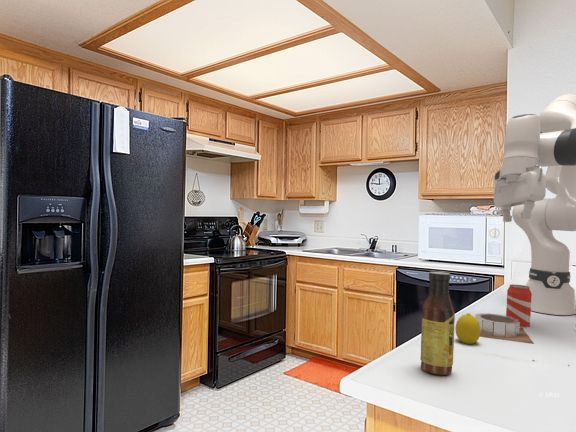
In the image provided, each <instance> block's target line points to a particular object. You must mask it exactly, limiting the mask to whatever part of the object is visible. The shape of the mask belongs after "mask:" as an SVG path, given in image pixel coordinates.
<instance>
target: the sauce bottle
mask: <svg viewBox="0 0 576 432" xmlns="http://www.w3.org/2000/svg"><path fill="white" fill-rule="evenodd" d="M428 280H429V289H428V293H429V295H428V296H427V297H426V299H425V300H424V302H423V304H422V317H421V335H420V336H421V337H420V339H421V340H420V361H421V362H420V368H421V369H422V371H424V372H425V373H429V374H432V375H437V376H438V375H440V376H445V375H450V374H451V373H452V371H453V364H454V347H455V345H454V343H455V320H456V317H455V314H456V313H455V312H456V311H455V309H454V306H453V303H452V300H451V297H450V291H449V290H450V282H451V273H449V272H443V271H429V273H428Z"/></svg>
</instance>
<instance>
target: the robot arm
mask: <svg viewBox="0 0 576 432" xmlns="http://www.w3.org/2000/svg"><path fill="white" fill-rule="evenodd" d="M503 141H504V142H503V148H504V156H503V158H502V165H501V166H500V167H499V169H498V170H497V171H496V172H495V174H494V176H493V181H494V182H495V184H494V187H493V188H494V189H493V205H494V206H495V208H499V209H500V208H501V210H500V211H501V213H502V221H503V223H512V221H514V223H515V224H516V225H517V227H519V228H520V229H522V231H523V232H524V233H525V235H526V236H527V239H528V241H529V244H530V250H531V251H530V254H531V262H530V263H531V264H530V267H529V271H528V278H529V279H528V280H527V282H526V283H525V284H524V286H528V287H530V288H529V289H530V291H531V293H532V297H531V311H533V312H537V313H540V314H541V313H542V314H545V315H546V314H548V315H554V316H571V315H576V302H575V301H576V298H575V297H576V296H575V295H576V294H575V288H574V287H572V285H570V282H571V277H572V276H571V272H570V257H571V255H570V253H571V251H570V250H569V248H568V246H567V245H566V244H564V243H563V242H561V241H559V240H557V239H556V238H555V236H554V234H553V233H554V232H553V231H562V232H563V231H564V232H576V94H573V93H565V94H561V95H560V96H557V97H555V98H554V99H553V100H551V101H550V102H549V103H548V104H547V105H545V107H544V108H543V109H542V110H541V112H540V114H539V115H537V114H533V113H525V114H518V115H514V116H512V117H510V118H509V119H508V121H507V124H506V128H505V133H504V139H503ZM543 167H547V170H546V171H545V172H546V173H545V174H544V172H543ZM546 190H548V191H549V192H550V193H552V194H554V195H556V196H555V197H554V198H545V197H546V194H547V193H546V192H547V191H546ZM511 210H512V211H511ZM511 212H512V215H511Z"/></svg>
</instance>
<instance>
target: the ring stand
mask: <svg viewBox="0 0 576 432" xmlns="http://www.w3.org/2000/svg"><path fill="white" fill-rule="evenodd" d="M479 338H486V339H493V340H501V341H502V340H503V341H510V342H516V343H524V344H533V345H535V343H534V341H533V340H532V338H531V337H530V336H529V334H528V333H527V332H526V331H525V329H524V327H520V328H519V336H517V337H497V336H491V335H487V334H484V333H481V332H480V337H479Z"/></svg>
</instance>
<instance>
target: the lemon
mask: <svg viewBox="0 0 576 432" xmlns="http://www.w3.org/2000/svg"><path fill="white" fill-rule="evenodd" d="M454 331H455V334H456V337H457V339H458V340H459V341H460V342H461V343H463V344H467V345H469V344H470V345H472V344H475V343H476V342H478V340H479V339H480V338H481V337H480V325H479V322H478V320H477V319H476V318H475V316H473V315H472V314H471V313H466V314H463V315H461V316H459V318H457V321H456V323H455V327H454Z"/></svg>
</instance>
